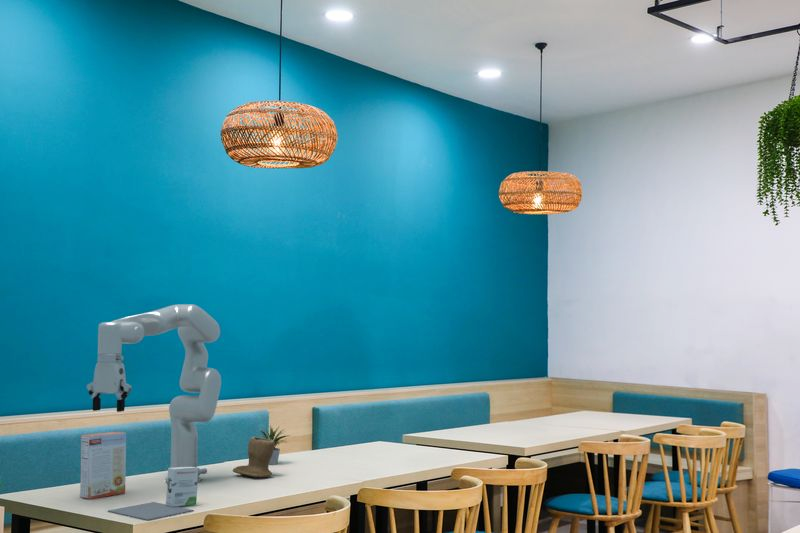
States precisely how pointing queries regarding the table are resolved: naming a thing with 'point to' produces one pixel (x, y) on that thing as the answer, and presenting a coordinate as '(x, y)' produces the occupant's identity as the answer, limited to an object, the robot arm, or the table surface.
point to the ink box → (182, 486)
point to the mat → (150, 511)
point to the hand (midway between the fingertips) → (108, 410)
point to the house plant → (276, 450)
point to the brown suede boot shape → (257, 458)
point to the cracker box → (103, 464)
